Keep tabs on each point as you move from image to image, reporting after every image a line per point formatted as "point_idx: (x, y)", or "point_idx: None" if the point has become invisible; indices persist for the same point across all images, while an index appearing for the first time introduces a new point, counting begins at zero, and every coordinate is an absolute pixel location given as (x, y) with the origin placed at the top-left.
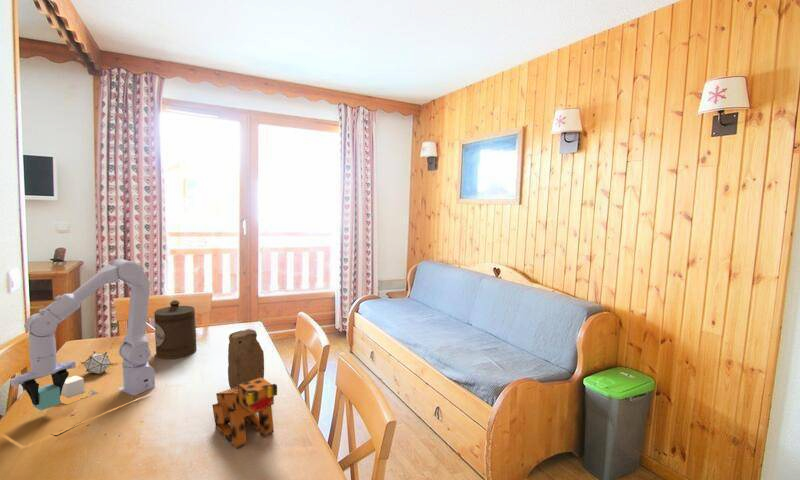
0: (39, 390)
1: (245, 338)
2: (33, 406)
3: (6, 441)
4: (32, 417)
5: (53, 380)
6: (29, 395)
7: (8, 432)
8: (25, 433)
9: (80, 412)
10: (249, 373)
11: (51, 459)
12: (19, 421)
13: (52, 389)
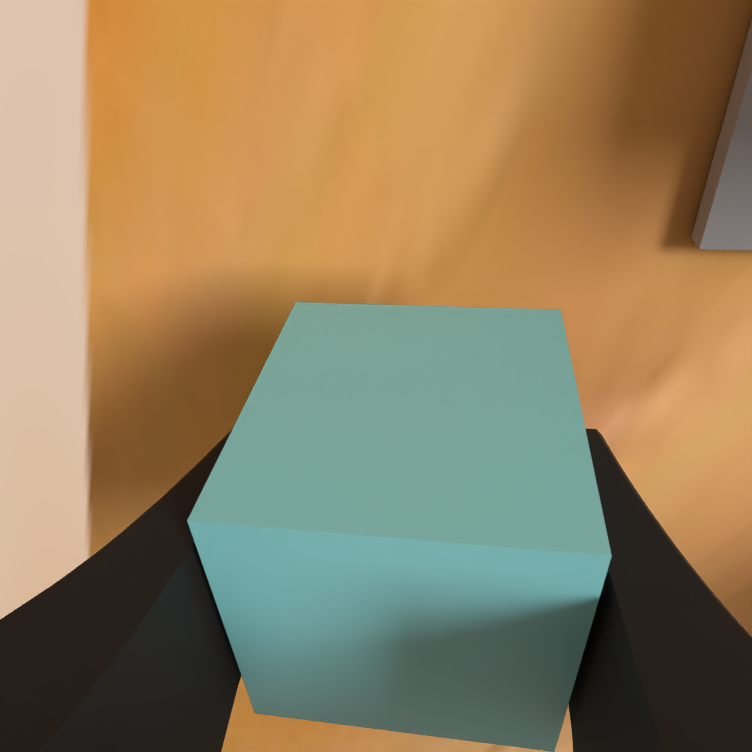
0: (284, 636)
1: None
2: (295, 307)
3: (87, 434)
4: (334, 163)
5: (628, 720)
6: (157, 514)
7: (101, 305)
8: (206, 436)
9: (639, 476)
10: None
11: (245, 718)
12: (206, 137)
13: (439, 735)
